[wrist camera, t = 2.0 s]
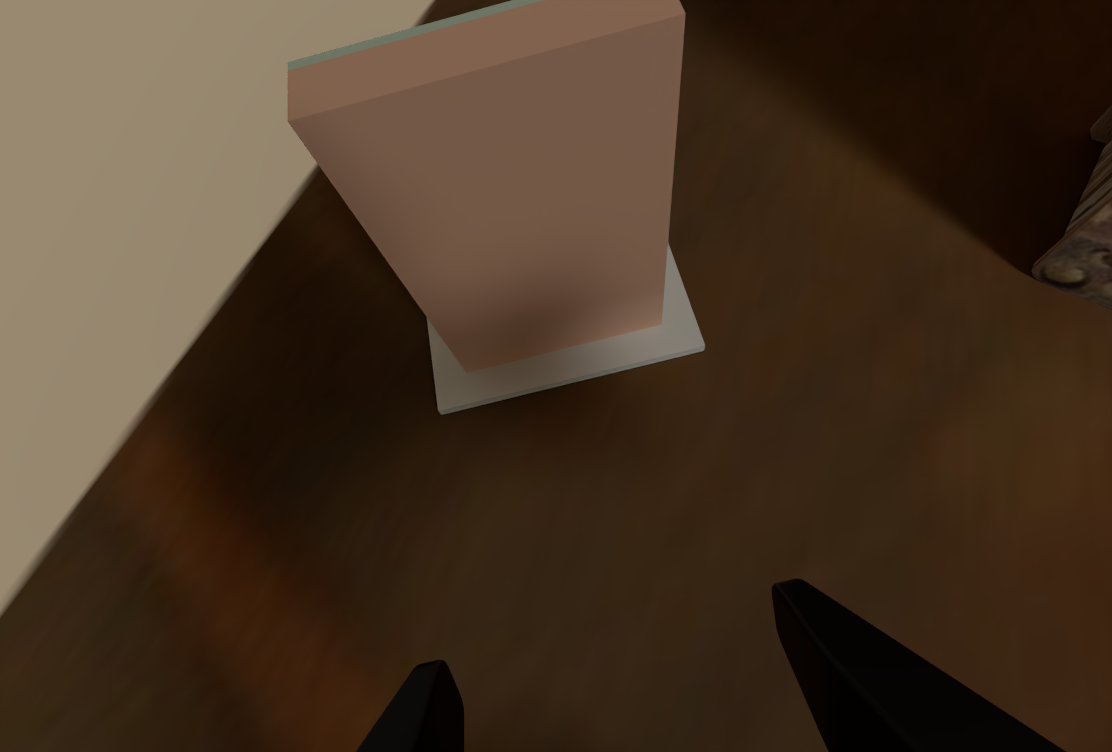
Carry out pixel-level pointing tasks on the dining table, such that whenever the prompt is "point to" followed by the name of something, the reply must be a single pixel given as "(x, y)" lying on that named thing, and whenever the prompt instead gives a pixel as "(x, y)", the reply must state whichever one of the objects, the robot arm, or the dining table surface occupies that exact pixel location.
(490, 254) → the pink eraser
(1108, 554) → the dining table surface
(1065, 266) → the book
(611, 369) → the grey mat
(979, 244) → the dining table surface
